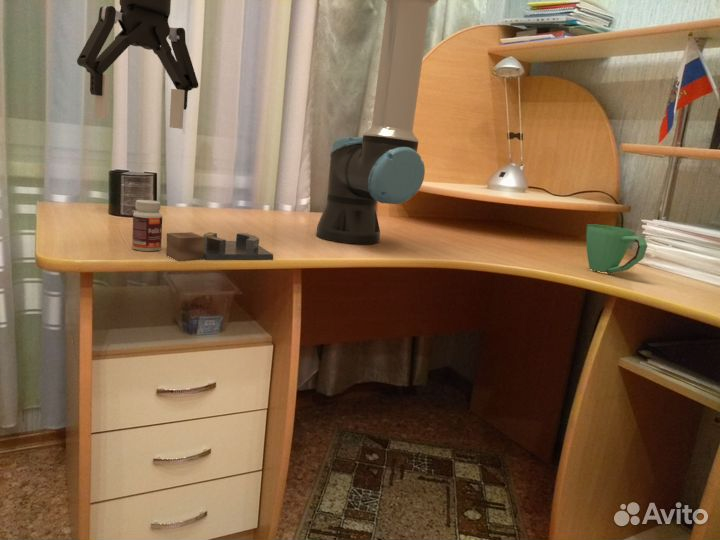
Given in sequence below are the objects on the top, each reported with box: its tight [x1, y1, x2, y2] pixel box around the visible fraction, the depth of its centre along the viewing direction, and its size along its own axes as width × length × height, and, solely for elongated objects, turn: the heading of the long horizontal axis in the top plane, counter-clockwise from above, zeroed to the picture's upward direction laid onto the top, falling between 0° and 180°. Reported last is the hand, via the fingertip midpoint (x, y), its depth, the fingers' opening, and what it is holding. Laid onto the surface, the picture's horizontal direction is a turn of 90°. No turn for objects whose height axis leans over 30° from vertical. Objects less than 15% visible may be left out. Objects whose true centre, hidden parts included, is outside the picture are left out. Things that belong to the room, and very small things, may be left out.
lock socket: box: [202, 232, 274, 261], centre depth 100 cm, size 12×12×3 cm
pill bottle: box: [132, 199, 163, 252], centre depth 95 cm, size 5×5×8 cm
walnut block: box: [165, 232, 205, 262], centre depth 92 cm, size 4×4×4 cm
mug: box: [585, 223, 648, 274], centre depth 120 cm, size 15×10×10 cm
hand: (141, 123), depth 90 cm, fingers open, 13 cm apart
